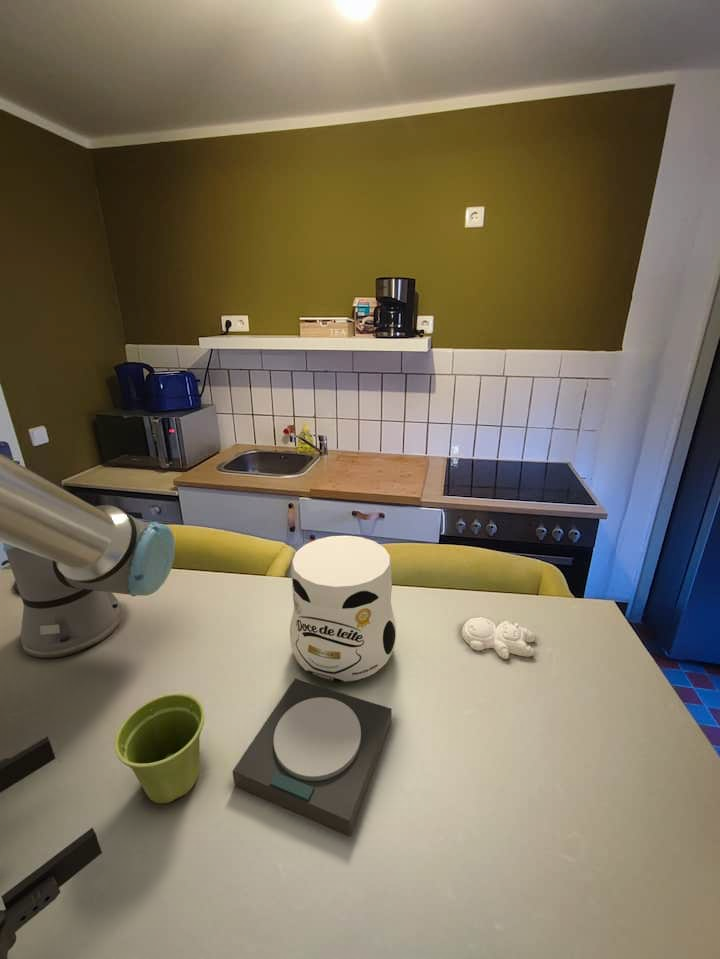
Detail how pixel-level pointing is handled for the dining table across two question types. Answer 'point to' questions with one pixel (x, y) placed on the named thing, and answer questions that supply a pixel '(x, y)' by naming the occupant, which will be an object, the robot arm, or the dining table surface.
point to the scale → (316, 754)
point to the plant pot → (163, 745)
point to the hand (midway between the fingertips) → (72, 788)
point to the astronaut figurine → (498, 637)
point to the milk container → (342, 608)
